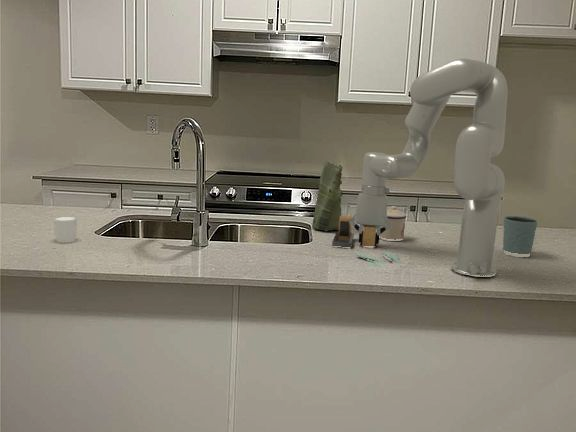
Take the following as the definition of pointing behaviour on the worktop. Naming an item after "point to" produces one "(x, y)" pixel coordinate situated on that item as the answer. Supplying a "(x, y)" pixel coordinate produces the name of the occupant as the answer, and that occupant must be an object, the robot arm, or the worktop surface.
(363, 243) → the tan wooden block
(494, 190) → the robot arm
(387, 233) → the teacup with lid
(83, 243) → the worktop surface
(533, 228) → the teal plant pot
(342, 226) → the rail
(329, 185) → the pouch
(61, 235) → the white cylinder
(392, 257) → the cloth
